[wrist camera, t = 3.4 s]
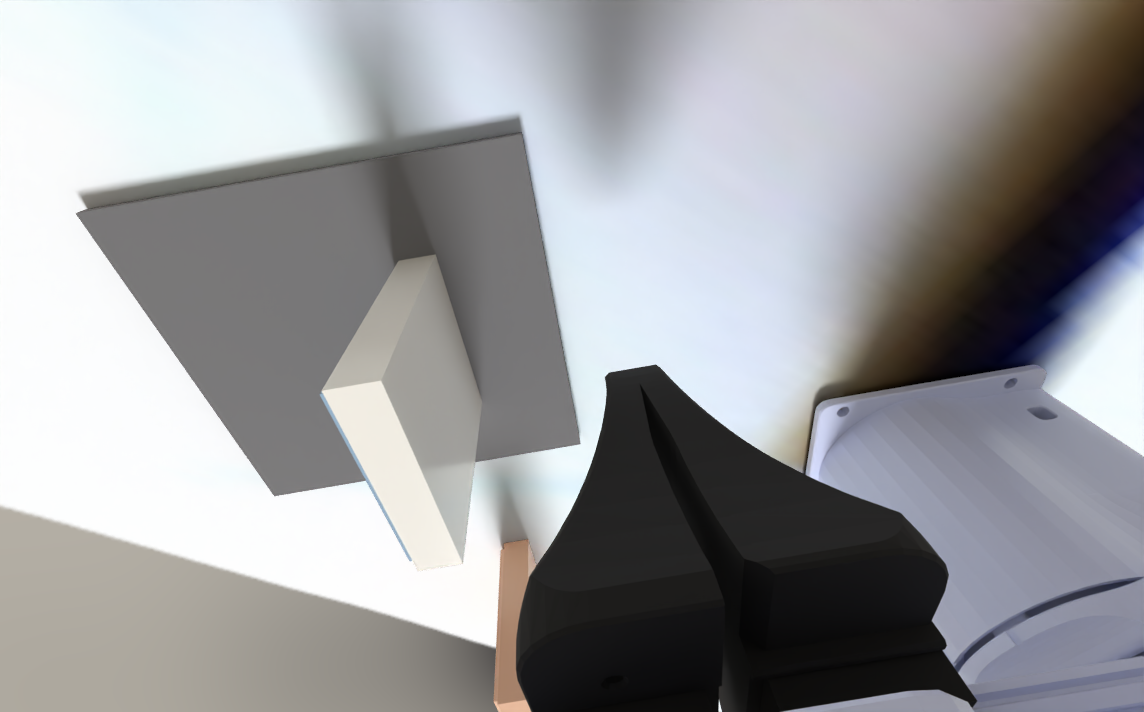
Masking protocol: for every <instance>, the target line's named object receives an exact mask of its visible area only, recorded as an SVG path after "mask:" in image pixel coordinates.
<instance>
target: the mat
mask: <svg viewBox="0 0 1144 712" xmlns="http://www.w3.org/2000/svg"><path fill="white" fill-rule="evenodd" d="M76 215H77V216H78V217H79V219H80V220H81V222H82V223H83V224H84V226H85V227H86V229H87V230H88V232H89V233H90V234H91V236H92V237H93V239H94V240H95V242H96V243H97V244H98V246H99V247H100V249H101V250H102V252H103V253H104V254H105V256H106V257H107V259H108V260H109V262H110V263H111V264H112V266H113V267H114V269H115V270H116V271H117V273H118V274H119V276H120V277H121V279H122V280H123V281H124V283H125V284H126V286H127V287H128V289H129V290H130V291H131V293H132V294H133V296H134V297H135V299H136V300H137V301H138V303H139V304H140V306H141V307H142V308H143V310H144V311H145V313H146V314H147V316H148V317H149V318H150V320H151V321H152V323H153V324H154V326H155V327H156V328H157V330H158V331H159V333H160V334H161V336H162V337H163V338H164V340H165V341H166V343H167V344H168V345H169V347H170V348H171V350H172V351H173V353H174V354H175V355H176V357H177V358H178V360H179V361H180V363H181V364H182V365H183V367H184V368H185V370H186V371H187V373H188V374H189V375H190V377H191V378H192V380H193V381H194V382H195V384H196V385H197V387H198V388H199V390H200V391H201V392H202V394H203V395H204V397H205V398H206V400H207V401H208V402H209V404H210V405H211V407H212V408H213V410H214V411H215V412H216V414H217V415H218V417H219V418H220V419H221V421H222V422H223V424H224V425H225V427H226V428H227V429H228V431H229V432H230V434H231V435H232V437H233V438H234V439H235V441H236V442H237V444H238V445H239V447H240V448H241V449H242V451H243V452H244V454H245V455H246V456H247V458H248V459H249V461H250V462H251V464H252V465H253V466H254V468H255V469H256V471H257V472H258V474H259V475H260V476H261V478H262V479H263V481H264V482H265V484H266V485H267V486H268V488H269V489H270V491H271V492H272V493H273V495H274V496H278V495H284V494H290V493H296V492H302V491H308V490H314V489H319V488H325V487H331V486H337V485H343V484H349V483H355V482H361V481H366V480H365V478H364V476H363V474H362V472H361V470H360V469H359V467H358V465H357V463H356V461H355V459H354V457H353V456H352V454H351V452H350V450H349V448H348V446H347V445H346V443H345V441H344V439H343V437H342V435H341V433H340V432H339V430H338V428H337V426H336V424H335V422H334V420H333V419H332V417H331V415H330V413H329V411H328V409H327V407H326V406H325V404H324V402H323V400H322V398H321V396H320V395H319V394H320V393H321V391H322V389H323V387H324V386H325V384H326V382H327V381H328V379H329V377H330V376H331V374H332V372H333V371H334V369H335V367H336V366H337V364H338V362H339V360H340V359H341V357H342V355H343V354H344V352H345V350H346V349H347V347H348V345H349V344H350V342H351V340H352V338H353V337H354V335H355V333H356V332H357V330H358V328H359V327H360V325H361V323H362V322H363V320H364V318H365V317H366V315H367V313H368V311H369V310H370V308H371V306H372V305H373V303H374V301H375V300H376V298H377V296H378V295H379V293H380V291H381V289H382V288H383V286H384V284H385V283H386V281H387V279H388V278H389V276H390V274H391V273H392V271H393V269H394V268H395V266H396V264H397V262H398V261H400V260H406V259H412V258H418V257H423V256H429V255H435V254H436V257H437V261H438V264H439V267H440V270H441V273H442V276H443V280H444V283H445V286H446V289H447V292H448V295H449V298H450V302H451V305H452V308H453V311H454V314H455V317H456V321H457V324H458V327H459V330H460V333H461V336H462V340H463V343H464V346H465V349H466V352H467V355H468V358H469V362H470V365H471V368H472V371H473V374H474V377H475V381H476V384H477V387H478V390H479V393H480V396H481V400H482V407H481V416H480V424H479V432H478V441H477V449H476V458H475V462H478V461H484V460H490V459H496V458H502V457H508V456H514V455H519V454H525V453H531V452H537V451H543V450H549V449H555V448H561V447H566V446H572V445H578V444H580V438H579V433H578V427H577V422H576V417H575V412H574V406H573V401H572V396H571V390H570V385H569V380H568V375H567V369H566V364H565V359H564V353H563V348H562V343H561V338H560V332H559V327H558V322H557V316H556V311H555V306H554V301H553V295H552V290H551V285H550V279H549V274H548V269H547V264H546V258H545V253H544V248H543V242H542V237H541V232H540V227H539V221H538V216H537V211H536V205H535V200H534V195H533V190H532V184H531V179H530V174H529V169H528V163H527V158H526V153H525V147H524V142H523V137H522V132H521V133H515V134H510V135H504V136H498V137H493V138H487V139H481V140H476V141H470V142H464V143H459V144H453V145H447V146H442V147H436V148H430V149H425V150H419V151H413V152H408V153H402V154H396V155H391V156H385V157H380V158H374V159H368V160H363V161H357V162H351V163H346V164H340V165H334V166H329V167H323V168H317V169H312V170H306V171H300V172H295V173H289V174H283V175H278V176H272V177H266V178H261V179H255V180H250V181H244V182H238V183H233V184H227V185H221V186H216V187H210V188H204V189H199V190H193V191H187V192H182V193H176V194H170V195H165V196H159V197H153V198H148V199H142V200H136V201H131V202H125V203H119V204H114V205H108V206H103V207H97V208H91V209H86V210H83V211H80V212H78V213H76Z"/></svg>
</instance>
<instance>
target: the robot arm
mask: <svg viewBox="0 0 1144 712" xmlns="http://www.w3.org/2000/svg"><path fill="white" fill-rule="evenodd" d="M1046 374H1047V373H1046V371H1045V370H1044V369H1042V368H1041V367H1039V366H1037V365H1028V366H1022V367H1016V368H1010V369H1005V370H999V371H993V372H987V373H981V374H975V375H969V376H963V377H958V378H952V379H946V380H940V381H934V382H928V383H922V384H916V385H910V386H905V387H899V388H893V389H887V390H881V391H875V392H869V393H863V394H858V395H852V396H846V397H840V398H834V399H828V400H825V401H823V402H821V403H820V404H819V405H818V406H817V408H816V410H815V416H814V422H813V429H812V435H811V442H810V448H809V454H808V461H807V467H806V474H803V473H800V472H799V471H797V470H795V469H793V468H791V467H789V466H787V465H785V464H783V463H781V462H779V461H778V460H776V459H774V458H772V457H770V456H769V455H767V454H765V453H763V452H762V451H760V450H758V449H757V448H755V447H754V446H752V445H751V444H749V443H747V442H746V441H744V440H743V439H741V438H740V437H739V436H737V435H736V434H734V433H733V432H732V431H730V430H729V429H728V428H726V427H725V426H724V425H722V424H721V423H720V422H718V421H717V420H716V419H715V418H713V417H712V416H711V415H710V414H708V413H707V412H706V411H705V410H704V409H703V408H701V407H700V406H699V405H698V404H697V403H696V402H694V401H693V400H692V399H691V398H690V397H689V396H688V395H687V394H686V393H685V392H684V391H682V390H681V389H680V388H679V387H678V386H677V385H676V384H675V383H674V382H673V381H672V380H671V379H670V378H669V377H668V376H667V374H666V373H665V372H664V371H663V370H662V369H661V368H660V367H658V366H657V365H651V366H645V367H639V368H634V369H628V370H622V371H616V372H610V373H608V374H607V376H606V377H605V380H606V388H607V396H606V406H605V412H604V418H603V424H602V428H601V432H600V436H599V440H598V444H597V447H596V451H595V454H594V457H593V460H592V463H591V466H590V469H589V471H588V474H587V476H586V479H585V481H584V484H583V486H582V488H581V490H580V493H579V495H578V497H577V499H576V501H575V503H574V505H573V507H572V509H571V511H570V513H569V515H568V517H567V518H566V520H565V522H564V524H563V525H562V527H561V529H560V531H559V532H558V534H557V536H556V538H555V539H554V541H553V542H552V544H551V545H550V547H549V548H548V550H547V551H546V553H545V554H544V556H543V557H542V558H541V560H540V561H539V563H538V564H537V566H536V567H535V569H534V570H533V571H532V573H531V574H530V576H529V579H528V583H527V586H526V590H525V594H524V597H523V602H522V606H521V610H520V615H519V621H518V629H517V636H516V674H517V680H518V682H519V685H520V687H521V689H522V692H523V694H524V696H525V699H526V701H527V703H528V705H529V708H530V710H531V712H718V705H719V701H720V705H721V709H722V712H1144V457H1143V456H1142V455H1140V454H1139V453H1137V452H1136V451H1134V450H1133V449H1131V448H1130V447H1128V446H1127V445H1125V444H1124V443H1122V442H1121V441H1119V440H1118V439H1116V438H1115V437H1113V436H1112V435H1110V434H1109V433H1107V432H1106V431H1104V430H1103V429H1101V428H1099V427H1098V426H1096V425H1095V424H1093V423H1092V422H1090V421H1089V420H1087V419H1086V418H1084V417H1083V416H1081V415H1080V414H1078V413H1077V412H1075V411H1074V410H1072V409H1071V408H1069V407H1068V406H1066V405H1065V404H1063V403H1062V402H1060V401H1059V400H1057V399H1055V398H1054V397H1052V396H1051V395H1049V394H1048V393H1046V392H1045V391H1043V390H1042V389H1041V387H1042V384H1043V382H1044V380H1045V378H1046ZM840 408H842V409H841V410H839V409H840Z"/></svg>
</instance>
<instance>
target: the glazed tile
mask: <svg viewBox="0 0 1144 712" xmlns="http://www.w3.org/2000/svg"><path fill="white" fill-rule="evenodd" d="M319 395H320V396H321V398H322V400H323V402H324V404H325V406H326V407H327V409H328V411H329V413H330V415H331V417H332V419H333V420H334V422H335V424H336V426H337V428H338V430H339V432H340V433H341V435H342V437H343V439H344V441H345V443H346V445H347V446H348V448H349V450H350V452H351V454H352V456H353V457H354V459H355V461H356V463H357V465H358V467H359V469H360V470H361V472H362V474H363V476H364V478H365V480H366V482H367V483H368V485H369V487H370V489H371V491H372V493H373V494H374V496H375V498H376V500H377V502H378V504H379V506H380V507H381V509H382V511H383V513H384V515H385V517H386V519H387V520H388V522H389V524H390V526H391V528H392V530H393V532H394V533H395V535H396V537H397V539H398V541H399V543H400V544H401V546H402V548H403V550H404V552H405V554H406V556H407V557H408V559H409V561H413V563H414V565H415V567H416V569H417V570H418V571H423V570H429V569H435V568H441V567H447V566H453V565H459V564H463V558H464V550H465V542H466V533H467V525H468V516H469V508H470V500H471V491H472V483H473V474H474V466H475V458H476V449H477V441H478V432H479V424H480V416H481V407H482V400H481V396H480V393H479V390H478V387H477V384H476V381H475V377H474V374H473V371H472V368H471V365H470V362H469V358H468V355H467V352H466V349H465V346H464V343H463V340H462V336H461V333H460V330H459V327H458V324H457V321H456V317H455V314H454V311H453V308H452V305H451V302H450V298H449V295H448V292H447V289H446V286H445V283H444V280H443V276H442V273H441V270H440V267H439V264H438V261H437V257H436V254H435V255H429V256H423V257H418V258H412V259H406V260H400V261H398V262H397V264H396V266H395V268H394V269H393V271H392V273H391V274H390V276H389V278H388V279H387V281H386V283H385V284H384V286H383V288H382V289H381V291H380V293H379V295H378V296H377V298H376V300H375V301H374V303H373V305H372V306H371V308H370V310H369V311H368V313H367V315H366V317H365V318H364V320H363V322H362V323H361V325H360V327H359V328H358V330H357V332H356V333H355V335H354V337H353V338H352V340H351V342H350V344H349V345H348V347H347V349H346V350H345V352H344V354H343V355H342V357H341V359H340V360H339V362H338V364H337V366H336V367H335V369H334V371H333V372H332V374H331V376H330V377H329V379H328V381H327V382H326V384H325V386H324V387H323V389H322V391H321V393H320V394H319Z"/></svg>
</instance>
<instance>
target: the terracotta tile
mask: <svg viewBox="0 0 1144 712" xmlns="http://www.w3.org/2000/svg"><path fill="white" fill-rule="evenodd" d="M535 567H536V563H535V560H534V556H533V553H532V550H531V547H530V544H529V540H528V539H527V540H521V541H515V542H509V543H504V549H503V550H501V557H500V578H499V600H498V621H497V642H496V664H495V684H494V703H495V705H496V707H497V709H498V711H499V712H531V710H530V708H529V705H528V703H527V701H526V699H525V696H524V694H523V692H522V689H521V687H520V685H519V682H518V680H517V674H516V636H517V629H518V621H519V615H520V610H521V606H522V602H523V597H524V594H525V590H526V586H527V583H528V579H529V576H530V574H531V573H532V571H533V570H534V569H535Z"/></svg>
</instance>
